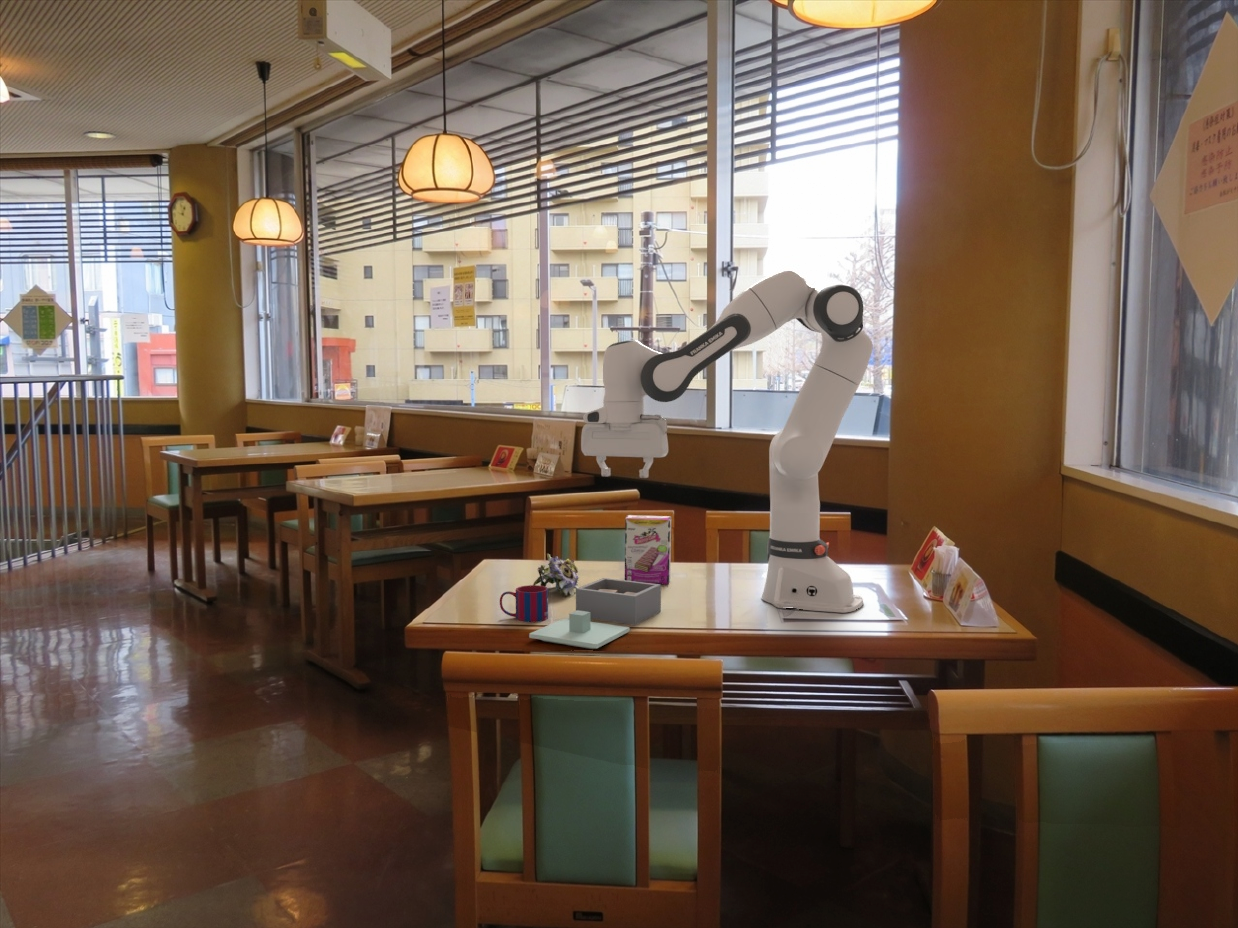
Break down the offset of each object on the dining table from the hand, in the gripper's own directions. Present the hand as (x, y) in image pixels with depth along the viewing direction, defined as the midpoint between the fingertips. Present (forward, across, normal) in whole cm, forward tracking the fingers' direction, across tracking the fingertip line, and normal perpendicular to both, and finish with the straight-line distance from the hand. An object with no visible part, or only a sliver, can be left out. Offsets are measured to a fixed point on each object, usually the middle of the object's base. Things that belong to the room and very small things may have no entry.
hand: (624, 476), depth 210 cm
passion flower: (+28, +18, +1) cm, 34 cm away
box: (+28, -4, +12) cm, 31 cm away
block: (+28, -1, +11) cm, 30 cm away
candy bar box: (+29, +5, -21) cm, 36 cm away
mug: (+28, +12, +23) cm, 39 cm away
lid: (+29, -4, +29) cm, 41 cm away
